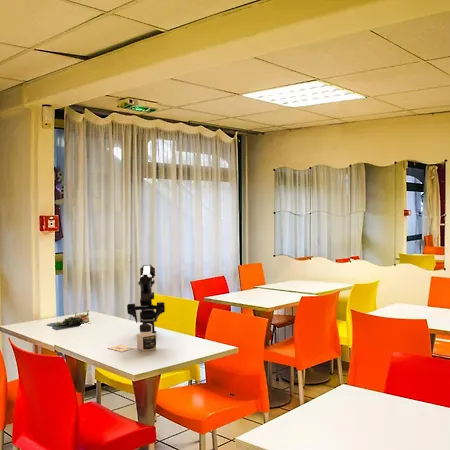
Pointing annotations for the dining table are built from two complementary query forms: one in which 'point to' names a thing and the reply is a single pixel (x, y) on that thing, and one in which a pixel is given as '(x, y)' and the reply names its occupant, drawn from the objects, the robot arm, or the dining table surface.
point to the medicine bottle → (146, 338)
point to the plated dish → (70, 322)
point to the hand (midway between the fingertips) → (146, 322)
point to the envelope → (121, 348)
